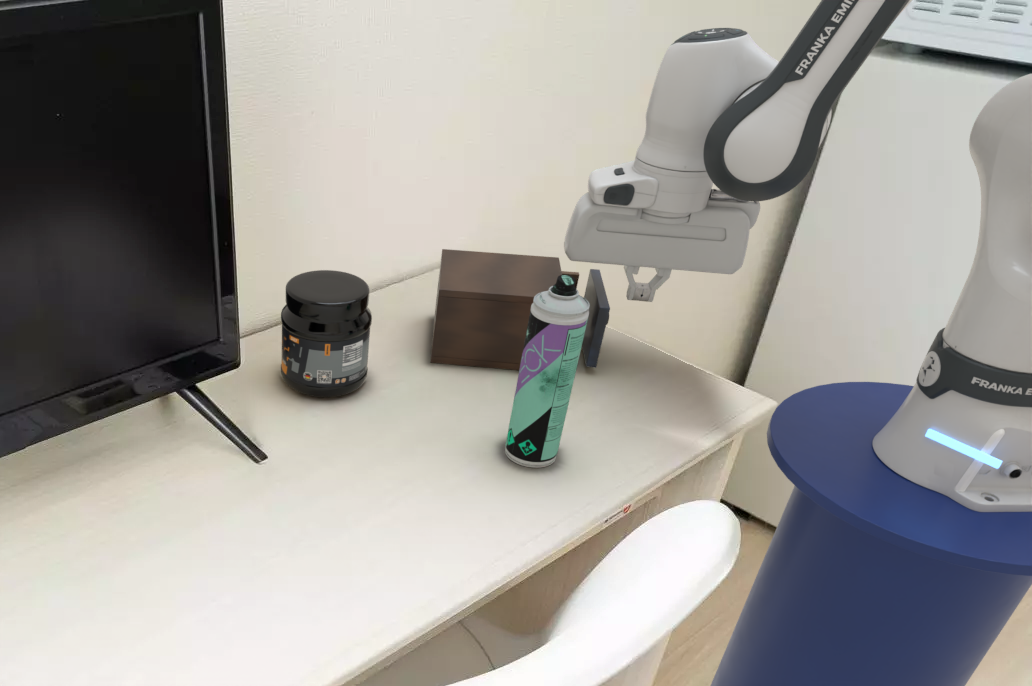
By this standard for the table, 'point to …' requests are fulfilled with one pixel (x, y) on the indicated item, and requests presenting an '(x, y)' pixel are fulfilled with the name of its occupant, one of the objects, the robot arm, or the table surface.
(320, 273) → the supplement container
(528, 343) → the spray can
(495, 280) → the cabinet
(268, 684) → the table surface
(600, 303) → the drawer
